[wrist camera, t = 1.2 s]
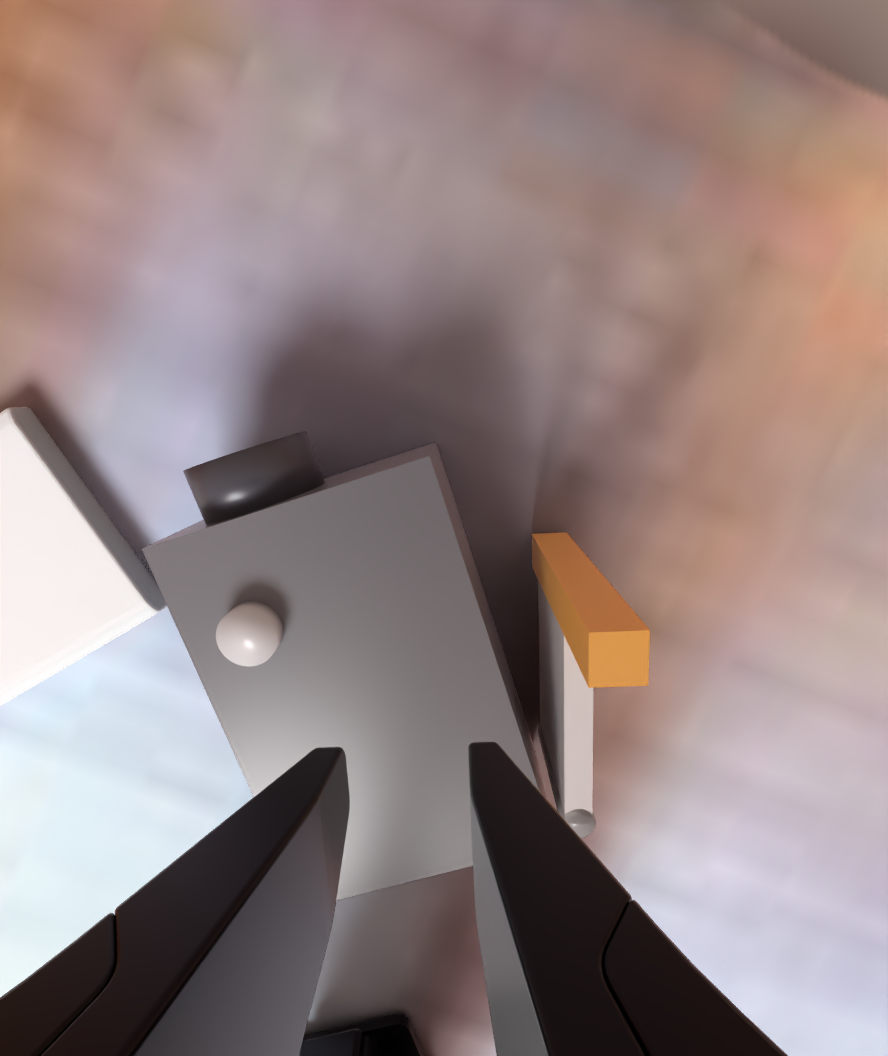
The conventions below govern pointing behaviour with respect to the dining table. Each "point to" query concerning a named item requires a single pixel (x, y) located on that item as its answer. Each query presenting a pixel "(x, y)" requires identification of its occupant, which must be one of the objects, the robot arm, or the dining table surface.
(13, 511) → the external hard drive
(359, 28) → the dining table surface
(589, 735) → the side door
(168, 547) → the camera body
